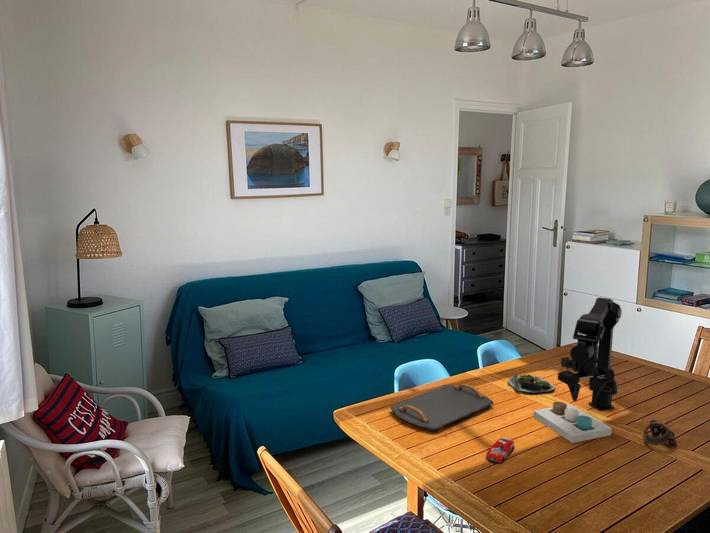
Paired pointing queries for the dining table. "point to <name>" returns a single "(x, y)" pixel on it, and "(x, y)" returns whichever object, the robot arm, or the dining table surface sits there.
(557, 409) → the key walnut
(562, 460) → the dining table surface
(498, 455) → the race car
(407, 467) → the dining table surface
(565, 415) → the key ivory
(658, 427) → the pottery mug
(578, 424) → the key teal
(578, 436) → the keypad
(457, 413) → the serving board
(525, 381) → the salad plate
